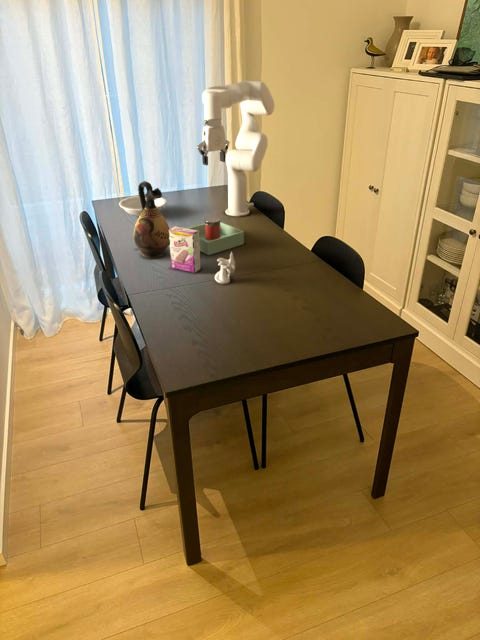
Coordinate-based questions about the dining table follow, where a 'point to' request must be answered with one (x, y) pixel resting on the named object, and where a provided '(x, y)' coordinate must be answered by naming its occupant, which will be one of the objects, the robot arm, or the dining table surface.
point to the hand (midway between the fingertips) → (214, 163)
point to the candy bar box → (184, 249)
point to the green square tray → (219, 239)
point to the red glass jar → (212, 228)
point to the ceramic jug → (150, 224)
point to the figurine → (225, 270)
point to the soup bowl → (139, 205)
